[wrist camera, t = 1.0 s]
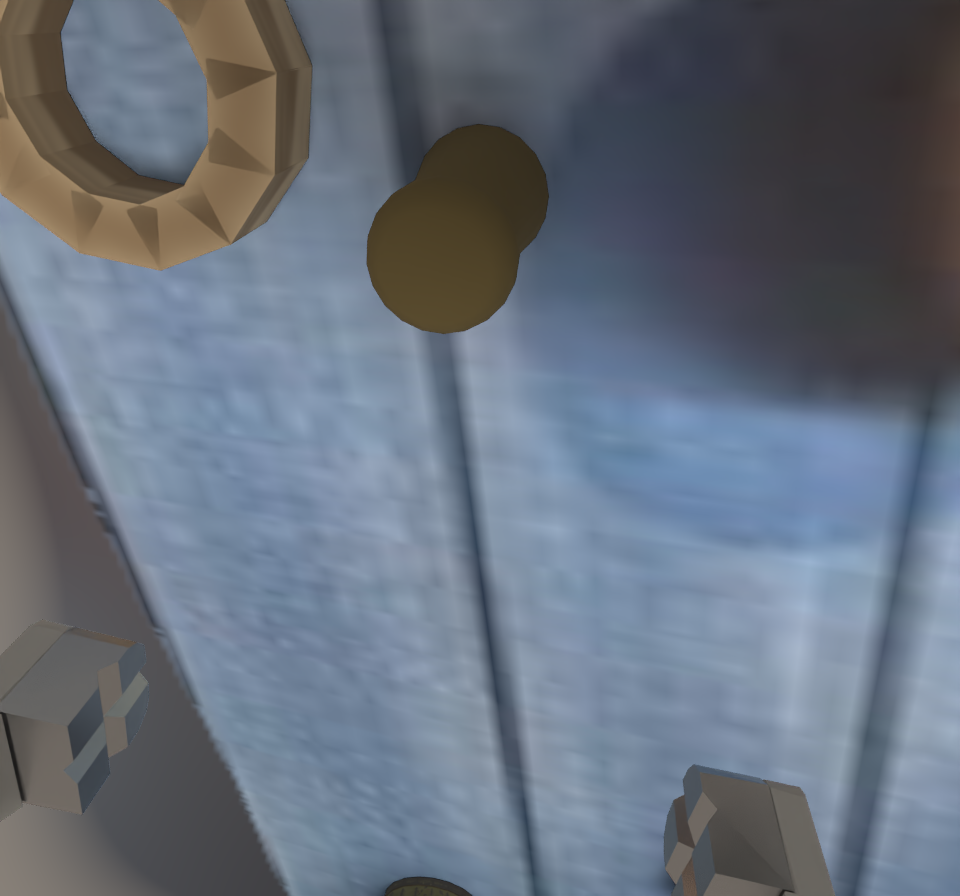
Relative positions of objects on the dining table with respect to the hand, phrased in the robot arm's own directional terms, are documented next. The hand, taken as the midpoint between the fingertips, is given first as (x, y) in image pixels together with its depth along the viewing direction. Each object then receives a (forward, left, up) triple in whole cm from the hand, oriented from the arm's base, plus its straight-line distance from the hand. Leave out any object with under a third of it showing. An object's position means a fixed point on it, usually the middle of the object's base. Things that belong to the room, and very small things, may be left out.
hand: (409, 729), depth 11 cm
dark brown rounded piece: (-1, -3, -27) cm, 27 cm away
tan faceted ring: (-3, -18, -27) cm, 32 cm away
